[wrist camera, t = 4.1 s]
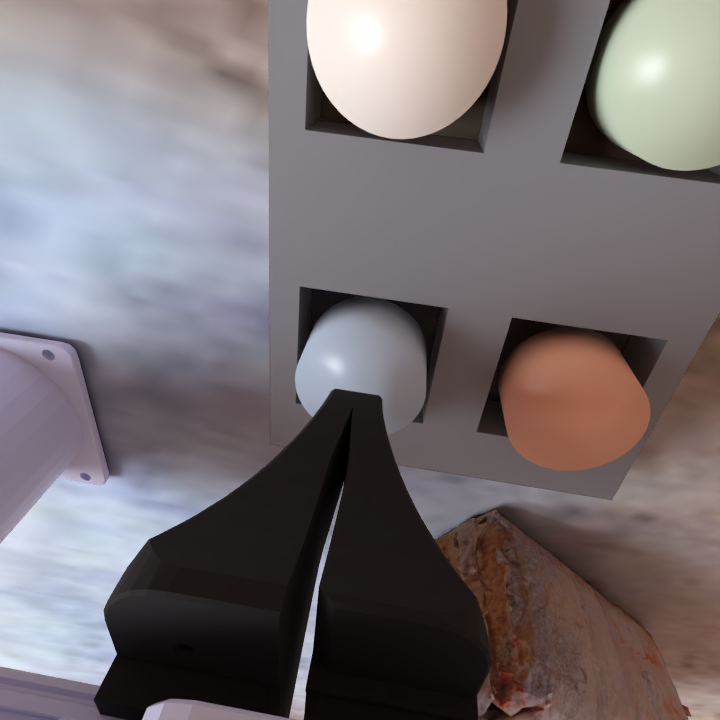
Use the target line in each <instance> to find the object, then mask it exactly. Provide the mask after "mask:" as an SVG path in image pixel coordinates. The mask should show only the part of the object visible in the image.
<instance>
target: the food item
mask: <svg viewBox="0 0 720 720" xmlns="http://www.w3.org/2000/svg"><path fill="white" fill-rule="evenodd" d="M435 542H436V543H437V545H438V546H439V548H440V550H441V551H442V552H443V554H444V555H445V557H446V558H447V560H448V561H449V562H450V564H451V565H452V567H453V568H454V569H455V571H456V572H457V573H458V575H459V576H460V577H461V578H462V580H463V581H464V582H465V584H466V585H467V586H468V587H469V589H470V590H471V591H472V592H473V593H474V595H475V596H476V597H477V600H478V602H479V605H480V609H481V612H482V615H483V618H484V622H485V626H486V629H487V634H488V638H489V643H490V649H491V658H492V664H491V668H490V672H489V674H488V676H487V678H486V680H485V682H484V683H483V685H482V687H481V689H480V691H479V693H478V695H477V702H478V720H688V717H687V716H690V717H691V714H690V712H689V709H688V707H686V706H684V705H682V704H681V701H680V699H679V696H678V693H677V690H676V688H675V686H674V684H673V682H672V681H671V679H670V677H669V675H668V672H667V669H666V666H665V663H664V660H663V658H662V656H661V654H660V652H659V650H658V648H657V646H656V644H655V642H654V640H653V638H652V636H651V634H649V633H648V632H647V631H646V630H645V629H644V628H643V627H642V626H640V625H639V624H637V623H636V622H635V621H634V620H633V619H631V618H630V617H629V616H628V615H627V614H626V613H625V612H623V611H622V610H620V609H619V608H617V607H616V606H614V605H613V604H611V603H610V602H609V601H608V600H607V599H605V598H604V597H603V596H602V595H601V594H600V593H599V592H598V591H596V590H595V589H594V588H593V587H591V586H590V585H589V584H587V583H586V582H585V581H584V580H583V579H581V578H580V577H579V576H578V575H577V574H576V573H574V572H573V571H572V570H570V569H569V568H568V567H566V566H565V565H564V564H563V563H562V562H561V561H559V560H558V559H557V558H556V557H554V556H553V555H552V554H551V553H550V552H548V551H547V550H546V549H544V548H543V547H541V546H540V545H539V544H537V543H536V542H535V541H534V540H533V539H531V538H530V537H529V536H526V535H525V534H524V533H523V532H522V531H521V530H520V529H519V528H517V527H516V526H515V525H514V524H513V523H511V522H510V521H509V520H508V519H506V518H505V517H503V516H501V515H500V514H499V513H498V512H497V510H493V511H490V512H488V513H486V514H484V515H480V517H478V518H471V519H469V520H467V521H465V522H463V523H462V524H461V525H459V526H458V527H457V528H456V529H454V530H453V531H451V532H449V533H447V534H445V535H444V536H442V537H440V538H439V539H437V540H435Z"/></svg>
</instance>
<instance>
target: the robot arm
mask: <svg viewBox="0 0 720 720" xmlns="http://www.w3.org/2000/svg"><path fill="white" fill-rule="evenodd" d="M50 351H51V352H52V353H53V354H52V353H51V352H50ZM382 401H383V399H382V398H381V397H380V396H379V395H374V394H367V393H361V392H355V391H348V390H342V389H336V388H335V389H334V390H332V391H331V392H330V393H329V395H328V397H327V398H326V400H325V401H324V403H323V404H322V406H321V407H320V408H319V410H318V411H317V412H316V414H315V415H314V416H313V417H312V419H311V420H310V421H309V422H308V423H307V424H306V426H305V427H304V428H303V429H302V430H301V432H300V433H299V434H298V435H297V436H296V437H295V438H294V439H293V440H292V441H291V442H290V443H289V444H288V445H287V446H286V447H285V448H284V449H283V450H282V451H281V452H280V453H279V454H278V455H277V456H276V457H275V458H274V459H273V460H272V461H271V462H270V463H268V464H267V465H266V466H265V467H264V468H263V469H261V470H260V471H259V472H258V473H257V474H255V475H254V476H253V477H252V478H250V479H249V480H248V481H246V482H245V483H244V484H242V485H241V486H240V487H238V488H237V489H236V490H234V491H233V492H231V493H230V494H229V495H227V496H226V497H224V498H223V499H221V500H219V501H218V502H216V503H215V504H213V505H211V506H210V507H208V508H207V509H205V510H203V511H202V512H200V513H199V514H197V515H195V516H194V517H192V518H190V519H188V520H186V521H185V522H183V523H181V524H179V525H177V526H175V527H173V528H171V529H169V530H167V531H165V532H163V533H161V534H159V535H157V536H155V537H153V538H151V539H149V540H148V541H147V543H146V544H145V545H144V546H143V548H142V549H141V550H140V551H139V553H138V554H137V555H136V557H135V558H134V559H133V561H132V562H131V563H130V565H129V566H128V567H127V569H126V571H125V572H124V574H123V575H122V577H121V579H120V581H119V582H118V584H117V586H116V587H115V589H114V591H113V593H112V594H111V596H110V598H109V600H108V601H107V604H106V606H105V608H104V616H105V621H106V624H107V627H108V630H109V633H110V636H111V638H112V641H113V644H114V647H115V650H116V652H117V655H116V657H115V659H114V661H113V663H112V665H111V667H110V669H109V671H108V673H107V675H106V676H105V678H104V680H103V682H102V684H101V686H97V685H92V684H87V683H82V682H77V681H71V680H66V679H61V678H56V677H51V676H46V675H41V674H35V673H30V672H25V671H20V670H15V669H10V668H5V667H0V720H294V719H289V715H290V710H291V704H292V699H293V694H294V689H295V683H296V678H297V673H298V668H299V663H300V658H301V652H302V647H303V642H304V637H305V632H306V627H307V622H308V617H309V612H310V607H311V602H312V597H313V592H314V587H315V582H316V577H317V573H318V568H319V563H320V559H321V556H322V552H323V548H324V545H325V542H326V538H327V535H328V532H329V528H330V525H331V522H332V519H333V515H334V512H335V509H336V505H337V502H338V499H339V495H340V492H341V489H342V485H343V482H344V488H343V492H342V497H341V501H340V505H339V510H338V514H337V518H336V522H335V527H334V531H333V535H332V539H331V543H330V547H329V551H328V555H327V559H326V562H325V566H324V570H323V574H322V578H321V581H320V585H319V593H318V604H317V615H316V626H315V636H314V647H313V654H312V659H311V664H310V669H309V674H308V679H307V684H306V702H305V714H304V720H478V702H477V695H478V693H479V691H480V689H481V687H482V685H483V683H484V682H485V680H486V678H487V676H488V674H489V672H490V668H491V664H492V658H491V649H490V643H489V638H488V634H487V629H486V626H485V622H484V618H483V615H482V612H481V609H480V605H479V602H478V600H477V597H476V596H475V595H474V593H473V592H472V591H471V590H470V589H469V587H468V586H467V585H466V584H465V582H464V581H463V580H462V578H461V577H460V576H459V575H458V573H457V572H456V571H455V569H454V568H453V567H452V565H451V564H450V562H449V561H448V560H447V558H446V557H445V555H444V554H443V552H442V551H441V550H440V548H439V546H438V545H437V543H436V542H435V540H434V538H433V537H432V535H431V533H430V532H429V530H428V529H427V527H426V525H425V524H424V522H423V520H422V519H421V517H420V515H419V513H418V511H417V509H416V507H415V505H414V504H413V501H412V499H411V497H410V495H409V493H408V491H407V489H406V487H405V484H404V482H403V479H402V477H401V475H400V472H399V469H398V467H397V464H396V461H395V458H394V455H393V452H392V449H391V445H390V442H389V439H388V435H387V431H386V426H385V421H384V416H383V406H382ZM57 478H60V479H66V480H72V481H78V482H84V483H90V484H95V485H103V484H105V482H106V481H107V480H108V479H109V471H108V467H107V464H106V460H105V456H104V452H103V449H102V445H101V441H100V437H99V433H98V430H97V426H96V422H95V418H94V414H93V411H92V407H91V403H90V399H89V396H88V392H87V388H86V384H85V380H84V377H83V373H82V369H81V365H80V361H79V358H78V354H77V352H76V350H75V349H74V348H73V347H72V346H71V345H69V344H67V343H64V342H59V341H53V340H46V339H40V338H34V337H27V336H21V335H14V334H8V333H2V332H0V543H1V542H2V541H3V540H4V539H5V538H6V536H7V535H8V534H9V533H10V532H11V531H12V530H13V528H14V527H15V526H16V525H17V524H18V523H19V522H20V520H21V519H22V518H23V517H24V516H25V515H26V514H27V512H28V511H29V510H30V509H31V508H32V507H33V505H34V504H35V503H36V502H37V501H38V500H39V499H40V497H41V496H42V495H43V494H44V493H45V492H46V491H47V489H48V488H49V487H50V486H51V485H52V484H53V483H54V481H55V480H56V479H57Z"/></svg>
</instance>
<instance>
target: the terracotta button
mask: <svg viewBox="0 0 720 720" xmlns="http://www.w3.org/2000/svg"><path fill="white" fill-rule="evenodd" d="M498 389H499V394H500V400H501V405H502V410H503V415H504V420H505V425H506V430H507V434H508V438H509V440H510V442H511V444H512V445H513V447H514V448H515V450H516V451H517V452H518V453H519V454H520V455H522V456H523V457H524V458H525V459H527V460H529V461H530V462H532V463H534V464H537V465H539V466H542V467H545V468H549V469H554V470H562V471H576V470H585V469H590V468H594V467H598V466H601V465H604V464H607V463H609V462H611V461H613V460H615V459H617V458H619V457H621V456H622V455H624V454H625V453H627V452H628V451H629V450H630V449H631V448H633V447H634V446H635V445H636V444H637V442H638V441H639V440H640V439H641V437H642V436H643V434H644V433H645V431H646V429H647V427H648V424H649V420H650V412H651V411H650V403H649V400H648V397H647V395H646V393H645V391H644V390H643V388H642V386H641V385H640V383H639V381H638V380H637V378H636V377H635V375H634V373H633V372H632V370H631V369H630V367H629V365H628V364H627V362H626V361H625V359H624V357H623V356H622V354H621V353H620V351H619V349H618V348H617V347H616V346H615V344H614V343H612V342H611V341H610V340H609V339H608V338H606V337H605V336H603V335H601V334H599V333H597V332H595V331H592V330H589V329H584V328H577V327H562V328H554V329H550V330H546V331H543V332H540V333H537V334H535V335H533V336H531V337H529V338H527V339H526V340H524V341H523V342H521V343H520V344H519V345H518V346H516V347H515V348H514V349H513V350H512V351H511V352H510V353H509V355H508V356H507V357H506V359H505V361H504V362H503V364H502V366H501V369H500V372H499V376H498Z"/></svg>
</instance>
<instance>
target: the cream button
mask: <svg viewBox="0 0 720 720" xmlns="http://www.w3.org/2000/svg"><path fill="white" fill-rule="evenodd" d="M306 23H307V41H308V49H309V53H310V58H311V62H312V65H313V68H314V71H315V74H316V77H317V79H318V81H319V83H320V85H321V87H322V89H323V91H324V92H325V94H326V95H327V97H328V99H329V100H330V102H331V103H332V104H333V105H334V106H335V108H336V109H337V110H338V111H339V112H340V113H341V114H342V115H343V116H344V117H345V118H346V119H347V120H349V121H350V122H352V123H353V124H354V125H356V126H357V127H359V128H361V129H363V130H365V131H367V132H369V133H372V134H374V135H377V136H381V137H386V138H391V139H411V138H417V137H422V136H426V135H429V134H431V133H434V132H437V131H439V130H441V129H442V128H444V127H446V126H448V125H450V124H451V123H452V122H454V121H455V120H457V119H458V118H459V117H461V116H462V115H463V114H464V113H465V112H466V111H467V110H468V109H469V108H470V107H471V106H472V105H473V104H474V102H475V101H476V100H477V99H478V98H479V96H480V95H481V93H482V92H483V91H484V89H485V88H486V86H487V84H488V82H489V81H490V79H491V77H492V75H493V73H494V71H495V68H496V66H497V63H498V61H499V58H500V55H501V51H502V47H503V44H504V38H505V32H506V25H507V0H308V7H307V18H306Z"/></svg>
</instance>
